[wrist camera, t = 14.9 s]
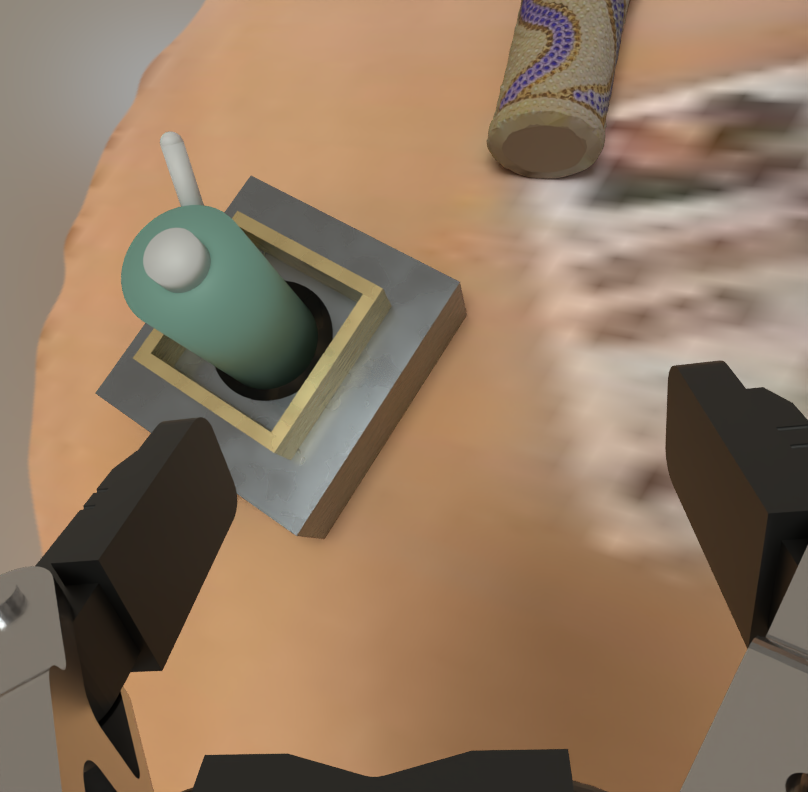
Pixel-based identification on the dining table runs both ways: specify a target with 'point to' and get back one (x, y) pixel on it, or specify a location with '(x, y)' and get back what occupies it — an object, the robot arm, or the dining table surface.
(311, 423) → the grey metal block
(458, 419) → the dining table surface
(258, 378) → the oil can
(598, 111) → the decorative bottle
